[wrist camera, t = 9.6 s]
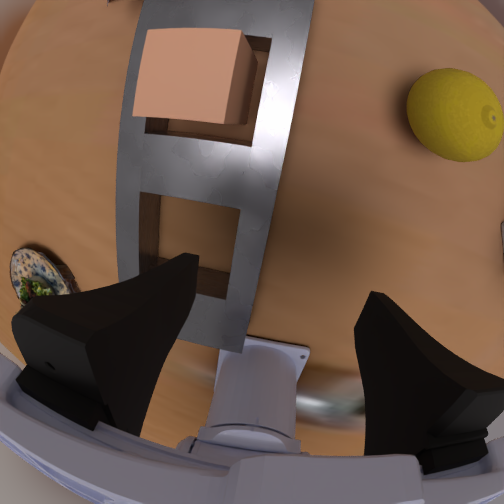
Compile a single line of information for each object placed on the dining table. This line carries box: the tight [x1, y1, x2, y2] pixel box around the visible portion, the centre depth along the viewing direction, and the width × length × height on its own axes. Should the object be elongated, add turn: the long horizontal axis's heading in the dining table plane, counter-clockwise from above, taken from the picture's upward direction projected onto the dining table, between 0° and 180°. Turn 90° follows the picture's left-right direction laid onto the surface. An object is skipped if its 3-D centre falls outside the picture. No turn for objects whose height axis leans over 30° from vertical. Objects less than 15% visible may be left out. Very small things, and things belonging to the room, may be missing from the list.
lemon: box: [407, 68, 504, 162], centre depth 12 cm, size 6×6×8 cm
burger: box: [10, 248, 80, 314], centre depth 23 cm, size 12×12×8 cm
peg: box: [132, 28, 258, 124], centre depth 13 cm, size 4×4×7 cm
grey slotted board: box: [116, 0, 314, 354], centre depth 17 cm, size 26×10×4 cm, turn 170°
